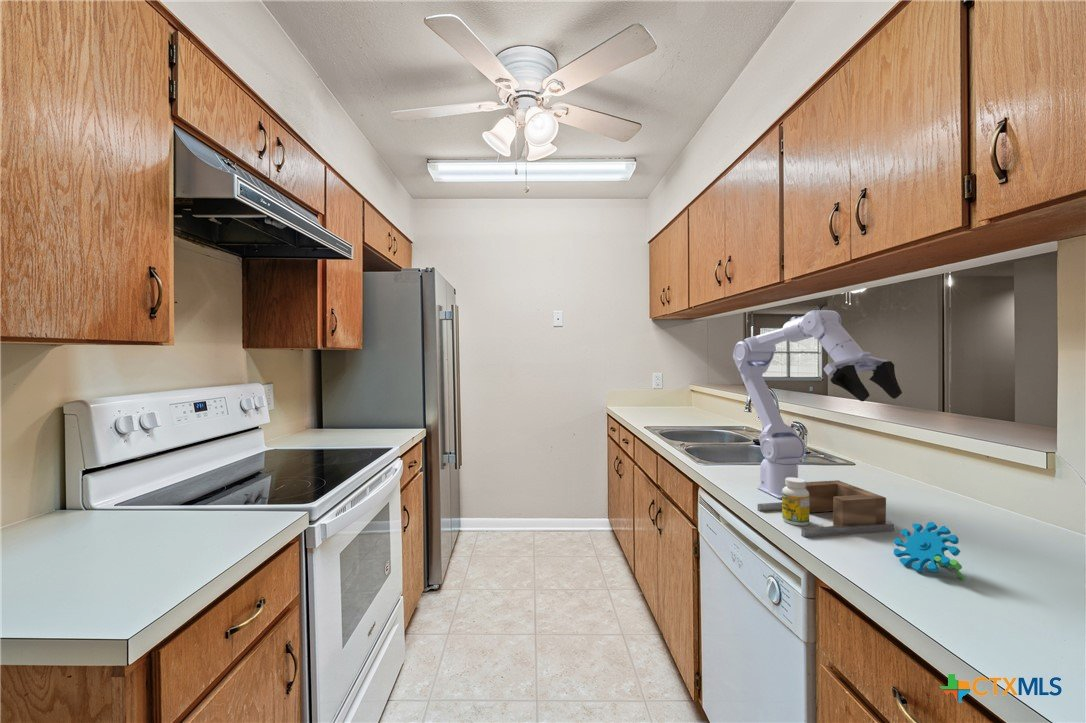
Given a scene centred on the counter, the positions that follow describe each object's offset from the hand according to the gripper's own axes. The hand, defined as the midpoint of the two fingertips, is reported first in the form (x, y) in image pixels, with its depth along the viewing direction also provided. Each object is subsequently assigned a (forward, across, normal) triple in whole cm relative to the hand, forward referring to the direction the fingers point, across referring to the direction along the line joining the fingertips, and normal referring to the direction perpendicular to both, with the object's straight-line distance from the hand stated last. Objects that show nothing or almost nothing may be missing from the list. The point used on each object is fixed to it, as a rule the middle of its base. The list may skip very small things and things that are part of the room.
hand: (881, 397), depth 91 cm
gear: (+30, -5, +10) cm, 32 cm away
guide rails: (+14, -7, +27) cm, 31 cm away
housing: (+14, -2, +27) cm, 30 cm away
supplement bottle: (+14, -13, +27) cm, 33 cm away
